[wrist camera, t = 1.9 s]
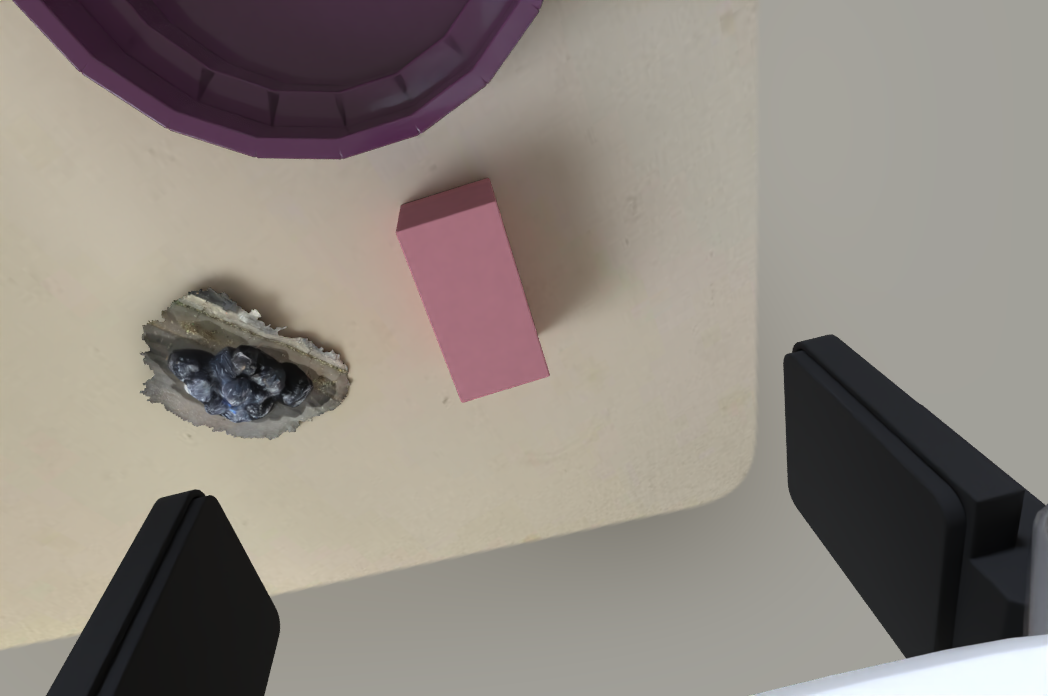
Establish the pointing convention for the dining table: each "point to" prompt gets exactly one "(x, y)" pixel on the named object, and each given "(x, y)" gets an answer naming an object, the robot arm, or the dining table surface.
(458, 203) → the eraser
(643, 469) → the dining table surface
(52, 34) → the bowl
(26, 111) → the dining table surface
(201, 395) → the geode
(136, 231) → the dining table surface
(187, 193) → the dining table surface
